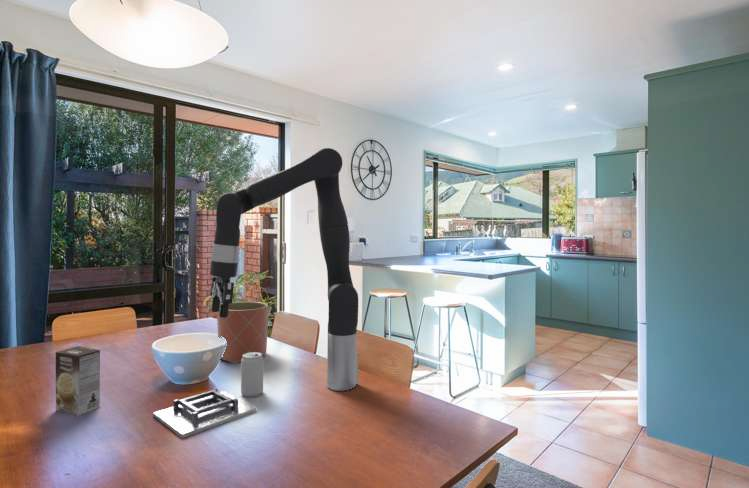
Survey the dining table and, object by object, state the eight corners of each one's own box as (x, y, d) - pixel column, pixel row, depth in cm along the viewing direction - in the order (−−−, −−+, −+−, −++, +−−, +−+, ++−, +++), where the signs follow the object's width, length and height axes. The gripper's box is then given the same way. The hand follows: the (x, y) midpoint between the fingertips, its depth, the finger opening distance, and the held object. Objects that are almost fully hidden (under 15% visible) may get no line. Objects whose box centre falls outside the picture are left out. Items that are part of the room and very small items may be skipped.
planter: (252, 346, 174) (252, 299, 174) (277, 356, 161) (277, 306, 161) (208, 356, 161) (208, 305, 160) (231, 367, 147) (231, 312, 147)
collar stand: (224, 394, 123) (224, 381, 123) (256, 411, 112) (256, 397, 112) (153, 416, 108) (153, 402, 108) (182, 438, 97) (182, 422, 97)
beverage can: (256, 399, 121) (257, 358, 120) (236, 396, 122) (237, 356, 122) (266, 390, 127) (267, 352, 126) (247, 388, 128) (247, 350, 128)
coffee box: (54, 411, 111) (53, 351, 110) (78, 401, 117) (77, 345, 116) (78, 416, 108) (77, 355, 107) (101, 406, 114) (101, 349, 113)
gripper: (245, 263, 119) (239, 319, 119) (230, 258, 130) (224, 309, 130) (218, 261, 114) (212, 319, 114) (205, 257, 126) (199, 309, 126)
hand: (219, 314), depth 122 cm, fingers open, 8 cm apart
